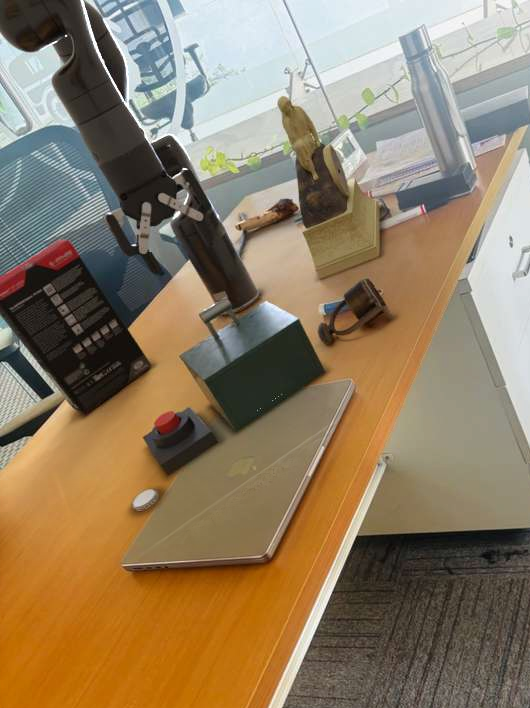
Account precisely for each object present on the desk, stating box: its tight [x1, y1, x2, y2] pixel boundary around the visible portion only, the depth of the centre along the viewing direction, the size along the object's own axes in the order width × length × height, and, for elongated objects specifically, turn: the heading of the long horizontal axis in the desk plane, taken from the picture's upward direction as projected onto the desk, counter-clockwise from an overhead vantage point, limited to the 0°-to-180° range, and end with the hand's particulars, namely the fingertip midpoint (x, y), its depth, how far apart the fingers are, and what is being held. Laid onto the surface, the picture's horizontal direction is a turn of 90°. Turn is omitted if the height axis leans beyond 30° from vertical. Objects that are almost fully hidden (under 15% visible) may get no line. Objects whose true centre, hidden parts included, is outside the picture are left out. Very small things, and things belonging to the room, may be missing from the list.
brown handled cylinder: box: [317, 277, 392, 345], centre depth 113 cm, size 7×13×10 cm
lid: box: [178, 297, 302, 384], centre depth 104 cm, size 14×17×5 cm
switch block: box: [142, 406, 219, 476], centre depth 107 cm, size 12×9×4 cm
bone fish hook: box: [234, 198, 300, 231], centre depth 180 cm, size 9×5×18 cm
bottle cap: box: [131, 488, 160, 512], centre depth 99 cm, size 4×4×1 cm
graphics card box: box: [0, 238, 152, 415], centre depth 128 cm, size 17×7×27 cm, turn 135°
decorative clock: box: [276, 95, 381, 280], centre depth 137 cm, size 28×13×30 cm, turn 179°
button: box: [153, 410, 181, 434], centre depth 105 cm, size 4×4×2 cm
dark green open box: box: [183, 322, 326, 432], centre depth 108 cm, size 13×17×9 cm
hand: (185, 260), depth 101 cm, fingers open, 8 cm apart
